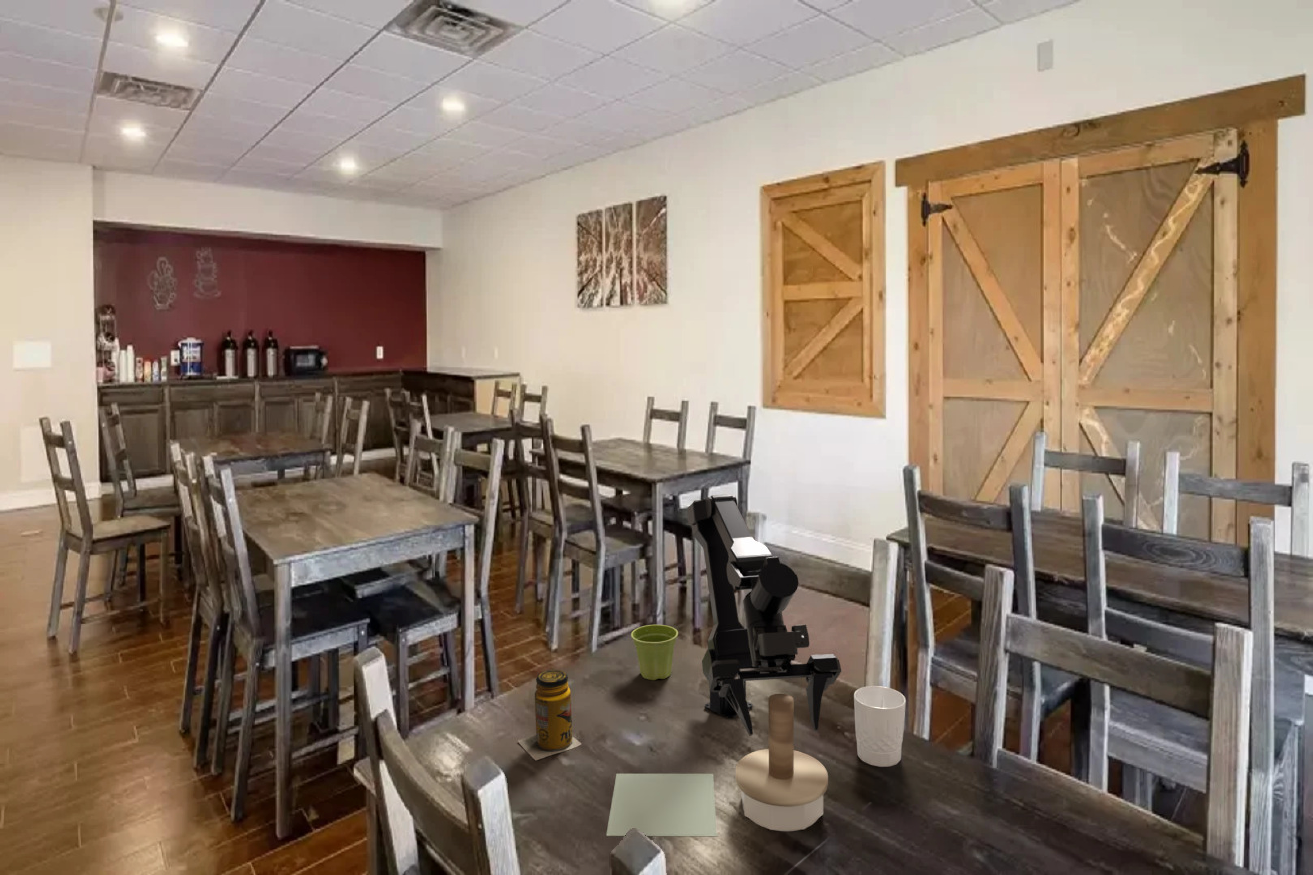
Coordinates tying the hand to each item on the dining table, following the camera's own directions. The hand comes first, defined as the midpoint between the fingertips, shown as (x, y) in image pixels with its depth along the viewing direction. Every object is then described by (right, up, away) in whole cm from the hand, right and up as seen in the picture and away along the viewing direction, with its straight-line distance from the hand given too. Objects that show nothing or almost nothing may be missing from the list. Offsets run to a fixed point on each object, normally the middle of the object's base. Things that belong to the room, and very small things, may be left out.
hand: (783, 732), depth 107 cm
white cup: (+18, -10, +16) cm, 26 cm away
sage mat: (-17, -12, +5) cm, 21 cm away
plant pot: (-18, -7, +48) cm, 52 cm away
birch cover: (0, -8, +2) cm, 8 cm away
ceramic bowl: (0, -12, +3) cm, 12 cm away
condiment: (-36, -11, +22) cm, 43 cm away
